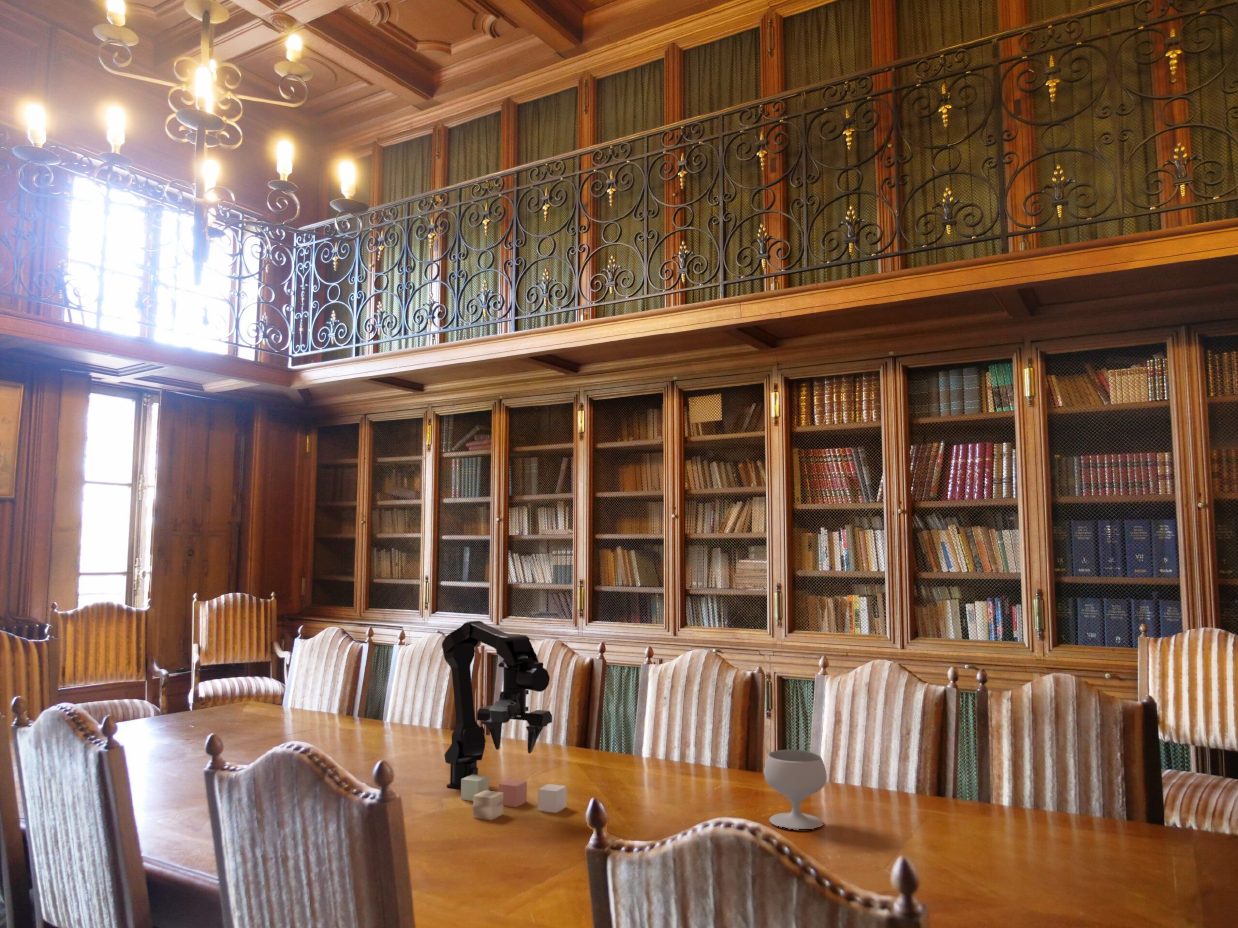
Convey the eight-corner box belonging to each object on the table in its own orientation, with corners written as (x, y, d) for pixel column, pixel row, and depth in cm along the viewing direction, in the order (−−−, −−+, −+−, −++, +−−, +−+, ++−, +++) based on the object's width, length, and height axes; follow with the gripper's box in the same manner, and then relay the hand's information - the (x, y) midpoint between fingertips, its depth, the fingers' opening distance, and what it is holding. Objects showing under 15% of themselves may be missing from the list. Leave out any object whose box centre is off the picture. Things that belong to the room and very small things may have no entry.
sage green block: (460, 799, 209) (461, 778, 209) (472, 794, 213) (472, 774, 214) (477, 801, 207) (478, 780, 207) (488, 796, 211) (489, 776, 212)
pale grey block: (537, 810, 200) (538, 788, 200) (547, 804, 204) (548, 783, 205) (556, 813, 198) (556, 791, 198) (566, 807, 202) (566, 785, 203)
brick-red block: (498, 804, 204) (498, 783, 205) (509, 799, 209) (509, 778, 209) (516, 807, 202) (516, 786, 203) (526, 801, 207) (526, 780, 207)
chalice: (830, 817, 195) (828, 750, 196) (824, 836, 182) (823, 764, 183) (770, 811, 199) (769, 746, 201) (760, 829, 186) (759, 759, 188)
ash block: (473, 817, 194) (473, 795, 195) (484, 811, 199) (485, 789, 199) (491, 820, 192) (491, 797, 193) (502, 814, 197) (503, 792, 197)
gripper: (464, 688, 205) (463, 754, 204) (531, 694, 198) (530, 762, 196) (489, 682, 215) (488, 745, 214) (553, 687, 208) (552, 752, 206)
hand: (513, 751), depth 207 cm, fingers open, 9 cm apart
